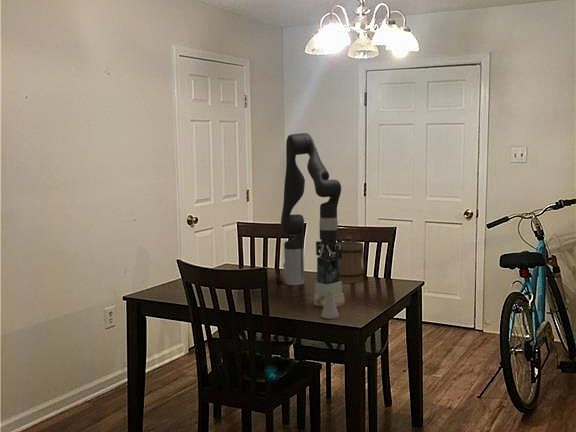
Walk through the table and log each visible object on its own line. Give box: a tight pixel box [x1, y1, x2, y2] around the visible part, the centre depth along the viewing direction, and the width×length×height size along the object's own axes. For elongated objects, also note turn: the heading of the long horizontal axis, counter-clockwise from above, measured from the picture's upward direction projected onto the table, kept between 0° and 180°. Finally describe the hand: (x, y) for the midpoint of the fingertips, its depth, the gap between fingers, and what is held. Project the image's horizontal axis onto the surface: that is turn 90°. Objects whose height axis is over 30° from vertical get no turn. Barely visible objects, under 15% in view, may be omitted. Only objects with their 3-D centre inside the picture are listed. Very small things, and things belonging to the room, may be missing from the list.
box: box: [316, 254, 340, 284], centre depth 270 cm, size 8×6×11 cm
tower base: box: [313, 292, 346, 308], centre depth 272 cm, size 9×9×5 cm
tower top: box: [314, 281, 343, 296], centre depth 271 cm, size 8×8×5 cm
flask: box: [320, 291, 340, 320], centre depth 253 cm, size 7×7×10 cm
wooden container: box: [333, 235, 365, 284], centre depth 316 cm, size 15×15×22 cm
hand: (328, 267), depth 270 cm, fingers open, 7 cm apart
